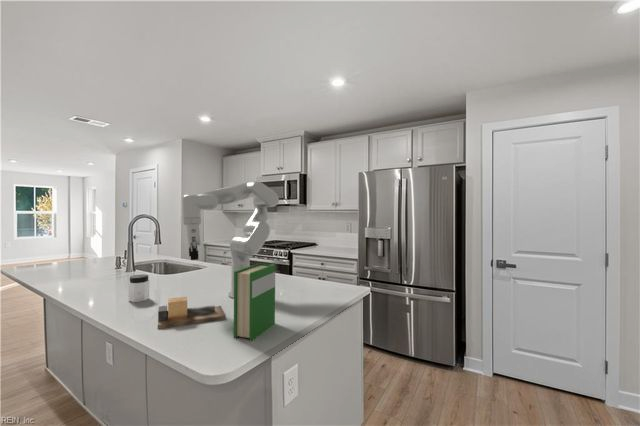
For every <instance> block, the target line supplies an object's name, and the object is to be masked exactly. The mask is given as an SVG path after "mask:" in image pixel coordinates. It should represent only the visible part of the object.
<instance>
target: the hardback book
mask: <svg viewBox="0 0 640 426" xmlns="http://www.w3.org/2000/svg"><path fill="white" fill-rule="evenodd" d="M275 324H276V264H273V263H263V262H262V263H261V262H257V263H256V264H253V265H250V266H249V267H246V268H243V269H240V270H237V271H234V298H233V339H235V338H236V339H238V338H239V337H240V338H247V339H249V340H251V341H250V342H253V341H254V340H255V339H257V338H258V337H259V336H261V335H262V334H263V333H264V332H266V331H267V330H268V329H269V328H271V327H272V326H273V325H275ZM265 330H266V331H265ZM261 333H262V334H261ZM238 336H239V337H238ZM257 336H258V337H257ZM256 337H257V338H256ZM253 339H254V340H253ZM252 340H253V341H252Z"/></svg>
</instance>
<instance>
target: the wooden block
mask: <svg viewBox="0 0 640 426" xmlns="http://www.w3.org/2000/svg"><path fill="white" fill-rule="evenodd" d="M167 302H168V304H167V311H168V320H172V319H180V318H187V308H188V296H181V297H172V298H171V297H170V298H168V300H167Z"/></svg>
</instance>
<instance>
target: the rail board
mask: <svg viewBox="0 0 640 426" xmlns="http://www.w3.org/2000/svg"><path fill="white" fill-rule="evenodd" d="M215 320H216V321H222V320H226V314H225V312H224V310H223V307H222V305H217V306H215V305H213V304H211V305H205V306H197V307H189V308H188V307H187V318H180V319H172V320H168V305H162V306H161V305H160V306H159V307H158V311H157V329H166V328H174V327H180V326H186V325H194V324H202V323H208V321H209V322H215Z"/></svg>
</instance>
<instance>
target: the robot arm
mask: <svg viewBox="0 0 640 426" xmlns="http://www.w3.org/2000/svg"><path fill="white" fill-rule="evenodd" d="M249 198H252V201H253V205H254V206H253V207H254V210H253V213H252V215H251V216H250V218H249V219H248V221H246V223H245V225H244V227H243V229H242V234H243V236H242V235H238V236H235V237H233V238H232V239H231V240H230V243H229V251H230V257H231V268H230V269H231V273H230V274H231V275H230V276H231V278H230V279H231V281H230V282H231V284H230V285H231V288H230V290H231V291H230V292H228V294H227V295H228V297H229V298H231V299H234V271H237V270H240V269H243V268H246V267H249V266H251V265H250V264H251V262H250V261H251V259H250V257H249V256H255V255H257V254H258V253H259V252H260V251H261V249H262V247H263V246H264V244H265V242H266V240H267V239H268V238H269V236H270V232H271V227H270V225H269V224H268V223H267V220H268V218H269V214H268V212H269V211H268V208H274V207H276V206H277V205H278V204H279V201H280V198H279V195H278V194H277V192H276V191H274V190H273V189H272V188H270V187H268V186H267V185H266V184H264V183H263V182H261V181H258V180H257V181H247V182H246V181H245V182H241V183H238V184H235V185H231V186H227V187H223V188H219V189H215V190H209V191H207V192H203V193H199V194H185V195H183V196H182V215H183V216H182V219H183V220H182V222H183V226H186V240H187V245H188V257H190V261H196V260H197V261H198V260H199V248H198V246H199V247H200V246H201V235H200V233H201V232H200V226H199V225H202V217H201V216H202V215H201V214H202V212H201V211H204V210H205V211H210V210H211V211H212V210H214V209H216V208H217V207H218V205H229V204H233V203H237V202H239V201H242V200H247V199H249Z"/></svg>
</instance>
